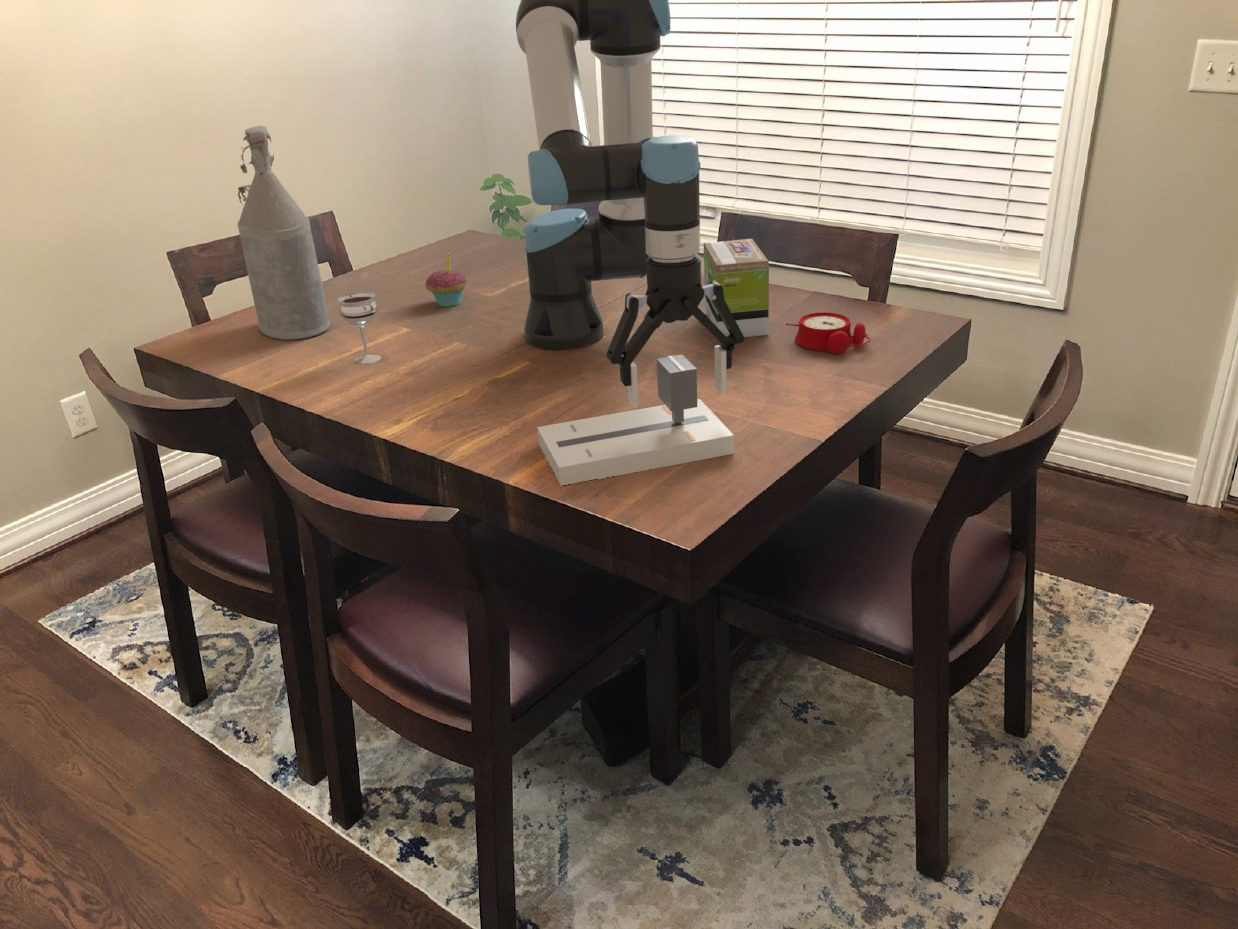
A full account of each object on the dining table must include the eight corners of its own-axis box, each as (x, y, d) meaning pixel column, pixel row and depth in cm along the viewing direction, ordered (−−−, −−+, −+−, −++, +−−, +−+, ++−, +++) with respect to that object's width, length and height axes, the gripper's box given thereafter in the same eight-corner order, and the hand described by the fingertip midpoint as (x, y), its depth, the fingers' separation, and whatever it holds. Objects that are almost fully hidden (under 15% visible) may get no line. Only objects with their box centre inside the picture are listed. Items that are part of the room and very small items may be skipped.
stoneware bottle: (296, 312, 217) (255, 118, 198) (345, 327, 207) (307, 124, 188) (243, 330, 208) (195, 129, 190) (292, 346, 198) (246, 135, 180)
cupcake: (477, 299, 218) (470, 244, 212) (451, 312, 211) (443, 255, 206) (446, 294, 222) (439, 240, 216) (420, 306, 216) (411, 251, 210)
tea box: (703, 314, 202) (702, 240, 195) (753, 310, 203) (754, 236, 196) (716, 340, 189) (715, 263, 182) (769, 336, 189) (771, 258, 182)
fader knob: (658, 414, 153) (656, 357, 149) (683, 410, 154) (682, 353, 150) (672, 431, 148) (670, 372, 144) (697, 426, 149) (696, 368, 145)
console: (538, 445, 154) (537, 426, 153) (699, 416, 160) (699, 398, 159) (560, 486, 142) (559, 467, 141) (733, 453, 148) (733, 434, 147)
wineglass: (373, 349, 194) (362, 289, 189) (393, 357, 190) (382, 296, 184) (342, 360, 190) (330, 298, 185) (361, 368, 186) (350, 306, 180)
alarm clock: (815, 308, 191) (881, 307, 180) (820, 340, 193) (885, 342, 181) (778, 322, 186) (843, 323, 174) (783, 355, 187) (848, 358, 176)
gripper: (593, 275, 133) (603, 421, 143) (768, 250, 139) (766, 392, 149) (578, 260, 140) (589, 401, 150) (746, 236, 145) (746, 374, 155)
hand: (677, 397), depth 149 cm, fingers open, 13 cm apart
